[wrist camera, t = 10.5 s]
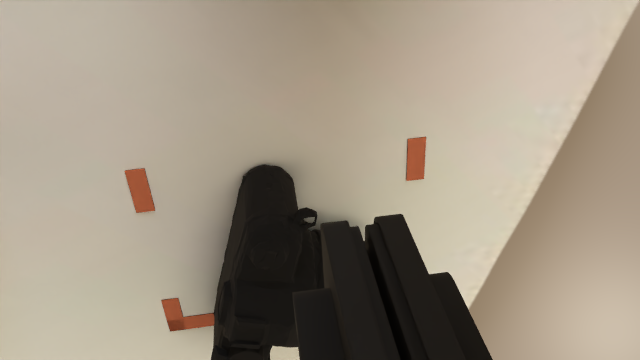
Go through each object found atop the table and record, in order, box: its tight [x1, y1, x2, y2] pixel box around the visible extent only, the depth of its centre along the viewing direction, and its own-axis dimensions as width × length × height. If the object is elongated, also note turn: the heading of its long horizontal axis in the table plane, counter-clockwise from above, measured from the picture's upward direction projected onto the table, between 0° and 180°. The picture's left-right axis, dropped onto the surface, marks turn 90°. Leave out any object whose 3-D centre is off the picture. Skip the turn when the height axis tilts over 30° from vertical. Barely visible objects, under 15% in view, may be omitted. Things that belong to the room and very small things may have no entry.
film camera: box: [211, 165, 365, 360], centre depth 36 cm, size 15×10×9 cm, turn 165°
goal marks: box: [125, 137, 426, 331], centre depth 39 cm, size 14×19×1 cm
